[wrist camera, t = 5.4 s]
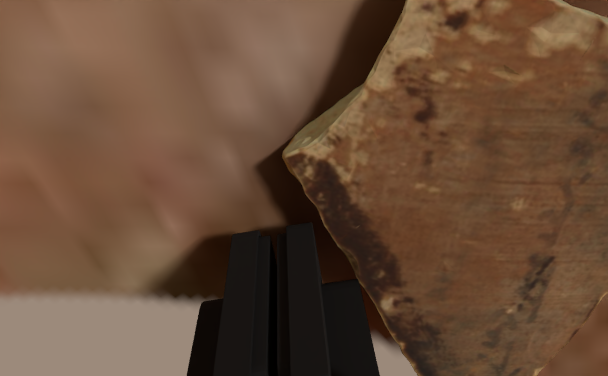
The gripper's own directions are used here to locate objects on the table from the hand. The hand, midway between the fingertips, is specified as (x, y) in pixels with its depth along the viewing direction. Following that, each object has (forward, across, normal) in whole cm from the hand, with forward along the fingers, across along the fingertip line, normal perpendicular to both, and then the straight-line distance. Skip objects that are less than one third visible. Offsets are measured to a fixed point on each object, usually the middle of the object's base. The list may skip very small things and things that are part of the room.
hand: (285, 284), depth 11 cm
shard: (+1, -6, 0) cm, 6 cm away
